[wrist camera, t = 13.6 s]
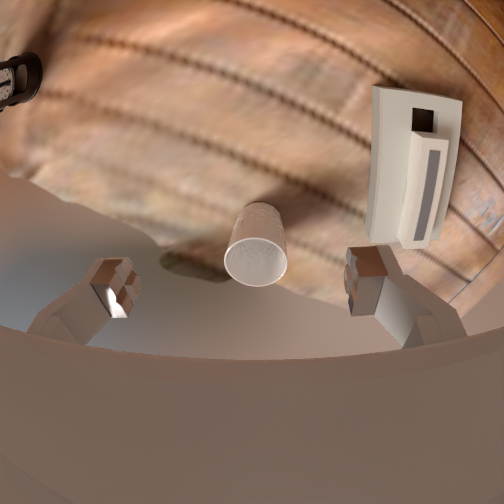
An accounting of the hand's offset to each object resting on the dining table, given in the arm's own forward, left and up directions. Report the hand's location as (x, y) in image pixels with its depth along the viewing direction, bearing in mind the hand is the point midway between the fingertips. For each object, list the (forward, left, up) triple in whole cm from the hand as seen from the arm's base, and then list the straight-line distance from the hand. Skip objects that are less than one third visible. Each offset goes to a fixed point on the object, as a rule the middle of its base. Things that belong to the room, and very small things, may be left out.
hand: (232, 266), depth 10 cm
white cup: (+16, -2, -29) cm, 33 cm away
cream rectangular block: (+9, +20, -28) cm, 36 cm away
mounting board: (+7, +20, -29) cm, 36 cm away
